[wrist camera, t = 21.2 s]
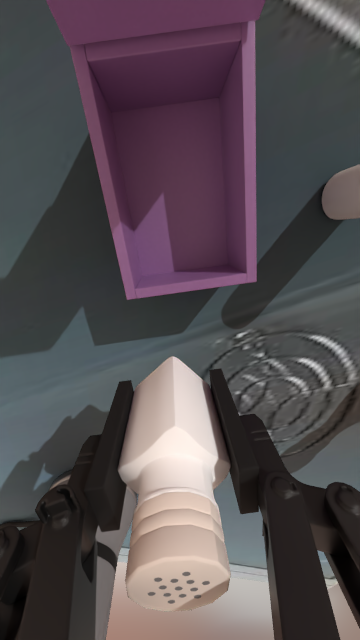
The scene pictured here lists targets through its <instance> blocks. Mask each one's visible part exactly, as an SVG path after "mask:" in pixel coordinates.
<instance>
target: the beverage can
mask: <svg viewBox="0 0 360 640" xmlns="http://www.w3.org/2000/svg"><path fill="white" fill-rule="evenodd" d="M322 206H323V210H324V212H325V214H326V215H327V216H328V217H329V218H332V219H335V220H343V219H354V218H360V164H359V165H357V166H354V167H351V168H348V169H346V170H343V171H340V172H339V173H337V174H335V175H334V176H333V177H332V178H331V179H330V180H329V181H328V183H327V184H326V185H325V188H324V190H323V193H322Z"/></svg>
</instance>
